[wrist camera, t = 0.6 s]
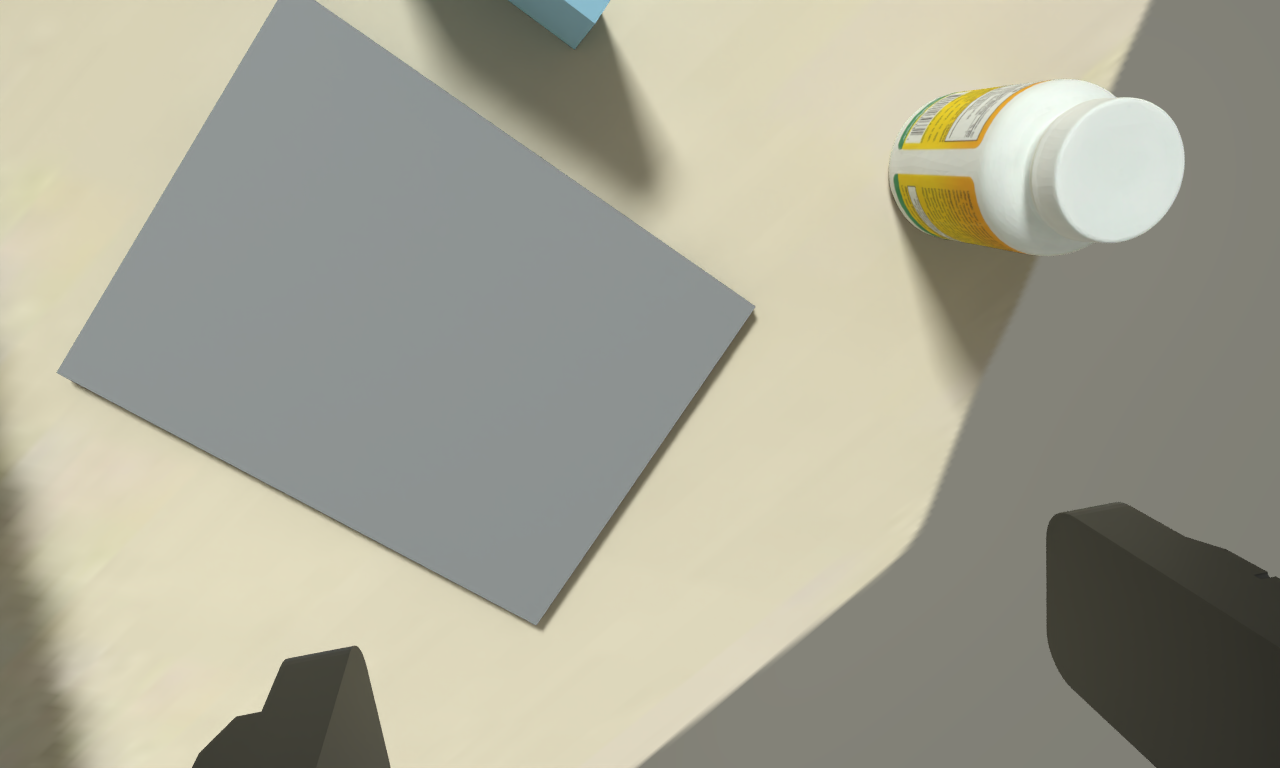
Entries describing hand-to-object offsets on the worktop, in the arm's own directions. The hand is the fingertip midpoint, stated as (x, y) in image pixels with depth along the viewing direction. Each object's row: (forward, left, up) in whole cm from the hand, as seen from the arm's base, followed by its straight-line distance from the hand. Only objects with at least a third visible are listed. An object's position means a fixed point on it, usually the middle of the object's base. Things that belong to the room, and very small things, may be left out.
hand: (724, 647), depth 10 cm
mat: (+3, -4, -24) cm, 24 cm away
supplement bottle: (-13, +9, -24) cm, 29 cm away
